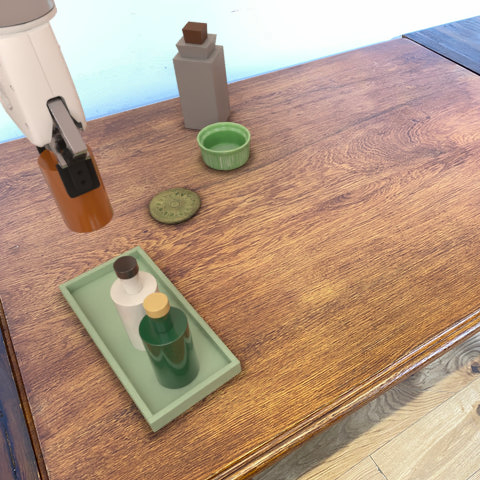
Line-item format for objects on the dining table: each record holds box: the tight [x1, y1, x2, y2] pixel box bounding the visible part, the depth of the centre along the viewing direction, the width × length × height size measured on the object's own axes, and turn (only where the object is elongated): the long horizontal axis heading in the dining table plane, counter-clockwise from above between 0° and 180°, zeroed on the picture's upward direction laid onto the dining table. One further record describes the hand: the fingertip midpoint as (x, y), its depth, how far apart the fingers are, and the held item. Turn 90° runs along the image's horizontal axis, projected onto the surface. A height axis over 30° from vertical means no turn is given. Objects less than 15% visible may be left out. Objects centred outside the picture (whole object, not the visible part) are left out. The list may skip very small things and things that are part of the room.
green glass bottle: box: [139, 292, 199, 389], centre depth 55 cm, size 5×5×13 cm
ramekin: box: [196, 121, 252, 171], centre depth 88 cm, size 9×9×4 cm
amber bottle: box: [37, 127, 114, 234], centre depth 54 cm, size 5×5×11 cm
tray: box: [58, 245, 242, 433], centre depth 63 cm, size 24×11×2 cm, turn 42°
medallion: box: [148, 187, 202, 225], centre depth 80 cm, size 8×8×1 cm
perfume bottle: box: [172, 20, 232, 131], centre depth 91 cm, size 7×7×18 cm
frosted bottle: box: [110, 256, 160, 351], centre depth 58 cm, size 5×5×13 cm
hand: (72, 175), depth 54 cm, fingers closed on amber bottle, 5 cm apart
